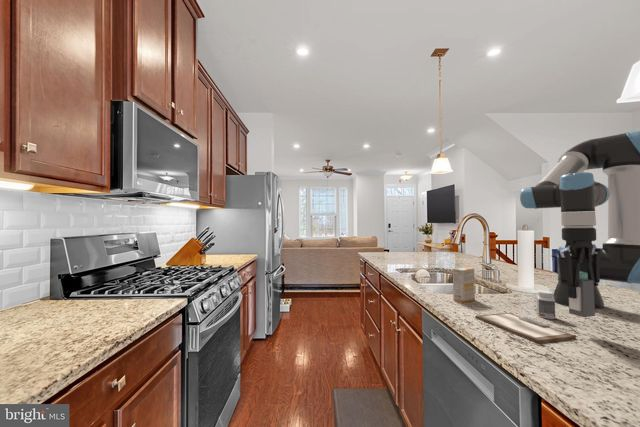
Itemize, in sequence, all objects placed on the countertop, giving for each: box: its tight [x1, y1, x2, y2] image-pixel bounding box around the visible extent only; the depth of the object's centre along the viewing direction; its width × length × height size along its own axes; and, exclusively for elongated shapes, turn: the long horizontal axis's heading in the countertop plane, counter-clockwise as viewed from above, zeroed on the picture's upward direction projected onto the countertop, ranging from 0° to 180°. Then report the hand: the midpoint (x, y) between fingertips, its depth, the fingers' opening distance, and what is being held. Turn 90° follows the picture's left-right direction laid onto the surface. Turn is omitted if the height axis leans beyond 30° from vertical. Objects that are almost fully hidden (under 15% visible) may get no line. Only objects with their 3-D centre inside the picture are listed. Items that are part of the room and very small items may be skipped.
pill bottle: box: [536, 290, 556, 320], centre depth 101 cm, size 5×5×8 cm
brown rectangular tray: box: [475, 312, 577, 344], centre depth 91 cm, size 13×22×1 cm, turn 14°
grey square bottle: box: [568, 272, 596, 318], centre depth 86 cm, size 4×4×12 cm
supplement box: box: [452, 266, 476, 303], centre depth 124 cm, size 8×5×13 cm, turn 122°
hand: (581, 308), depth 86 cm, fingers closed on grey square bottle, 4 cm apart
